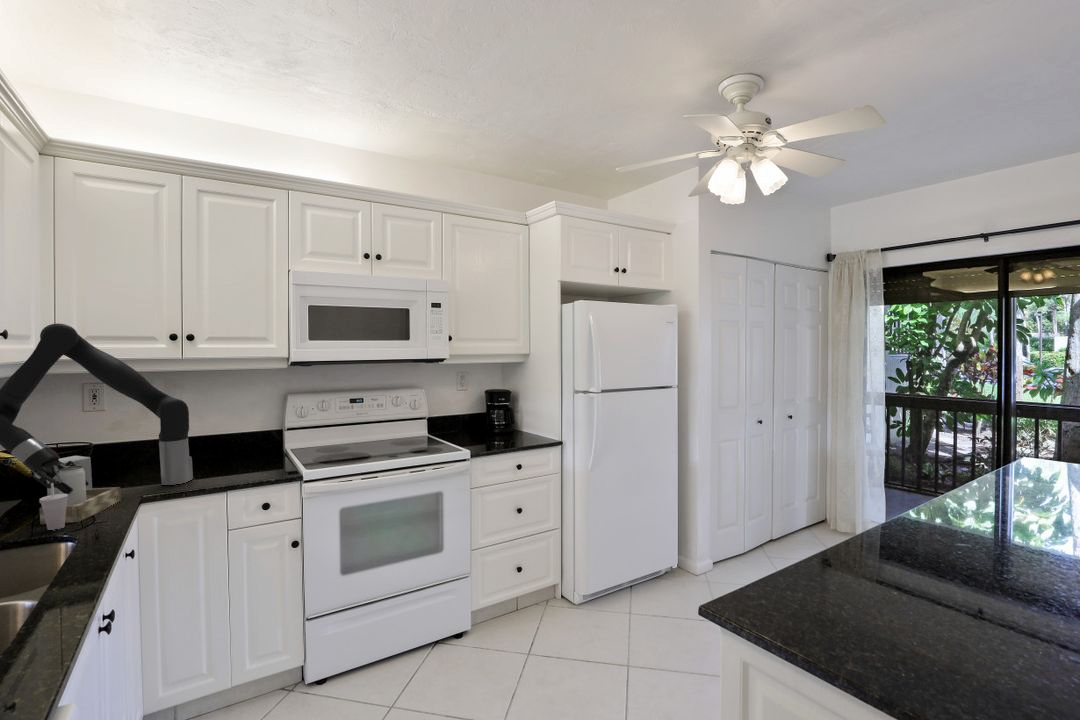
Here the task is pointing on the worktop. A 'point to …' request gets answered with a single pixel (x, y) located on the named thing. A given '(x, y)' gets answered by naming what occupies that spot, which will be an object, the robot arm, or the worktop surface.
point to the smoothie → (54, 509)
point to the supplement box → (78, 462)
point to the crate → (89, 504)
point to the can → (74, 483)
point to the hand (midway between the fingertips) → (78, 489)
